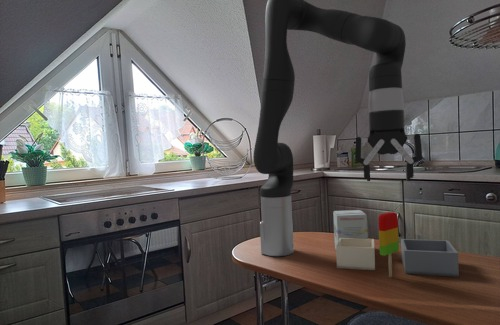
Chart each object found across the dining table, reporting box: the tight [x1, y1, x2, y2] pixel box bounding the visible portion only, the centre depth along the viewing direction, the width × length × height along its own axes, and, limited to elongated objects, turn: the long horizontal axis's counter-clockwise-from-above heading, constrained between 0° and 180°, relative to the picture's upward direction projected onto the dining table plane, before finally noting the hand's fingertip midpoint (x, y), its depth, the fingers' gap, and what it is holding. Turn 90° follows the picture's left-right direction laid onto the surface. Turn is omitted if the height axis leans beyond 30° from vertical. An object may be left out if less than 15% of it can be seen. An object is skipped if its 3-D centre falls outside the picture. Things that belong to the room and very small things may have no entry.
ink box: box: [332, 209, 369, 250], centre depth 104 cm, size 9×9×12 cm
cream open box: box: [335, 238, 376, 271], centre depth 93 cm, size 9×9×6 cm
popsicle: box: [378, 211, 400, 278], centre depth 82 cm, size 6×2×15 cm, turn 126°
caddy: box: [400, 238, 460, 278], centre depth 88 cm, size 11×11×6 cm
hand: (388, 180), depth 82 cm, fingers open, 8 cm apart
